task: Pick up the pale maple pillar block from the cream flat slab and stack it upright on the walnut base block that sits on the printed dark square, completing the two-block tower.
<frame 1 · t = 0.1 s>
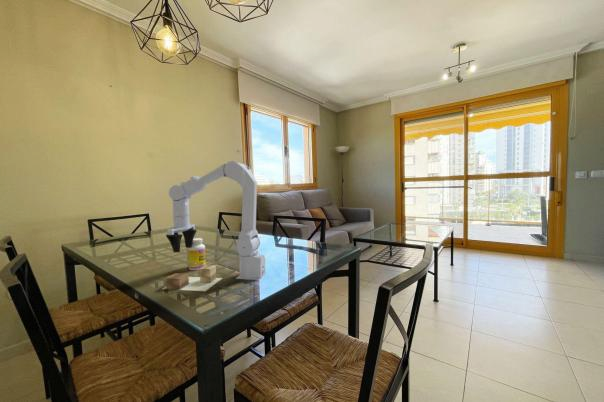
hand: (182, 249, 100), 10 cm above the table, fingers open, 7 cm apart
cream flat slab: (193, 284, 89), on the table
supplement bottle: (197, 269, 107), on the table
maple pillar: (208, 280, 91), point 1 cm above the table, touching cream flat slab
walnut base: (177, 285, 87), point 1 cm above the table, touching cream flat slab
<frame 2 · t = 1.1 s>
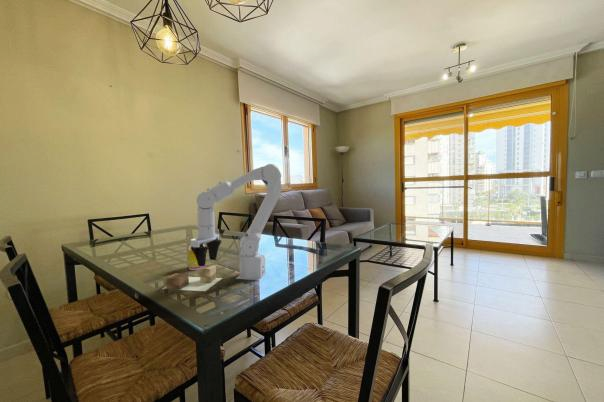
hand: (207, 262, 91), 7 cm above the table, fingers open, 7 cm apart
nothing on the table moved.
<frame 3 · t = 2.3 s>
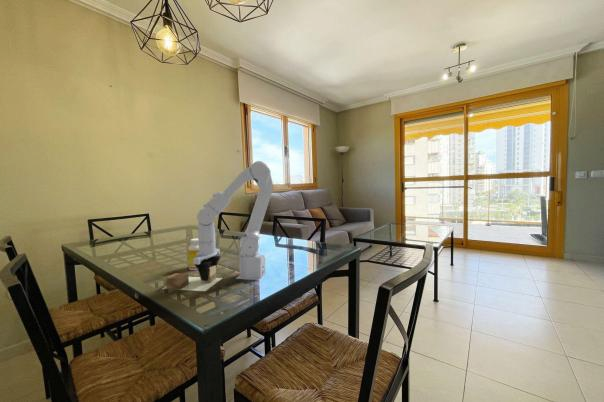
hand: (208, 278, 91), 2 cm above the table, fingers closed on maple pillar, 4 cm apart
maple pillar: (208, 280, 91), point 1 cm above the table, touching cream flat slab, gripper
everything else where it was.
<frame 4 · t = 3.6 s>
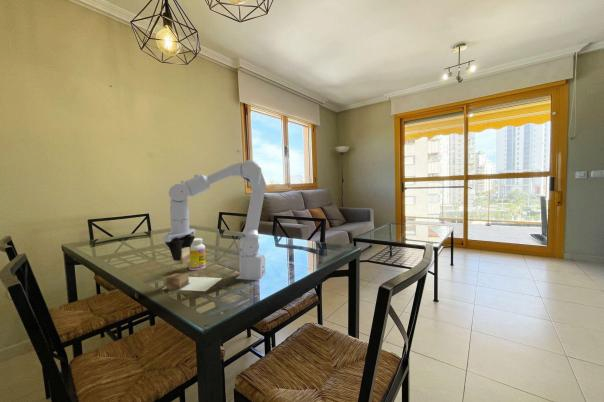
hand: (181, 258, 87), 10 cm above the table, fingers closed on maple pillar, 4 cm apart
maple pillar: (181, 262, 87), point 9 cm above the table, touching gripper
everything else where it was.
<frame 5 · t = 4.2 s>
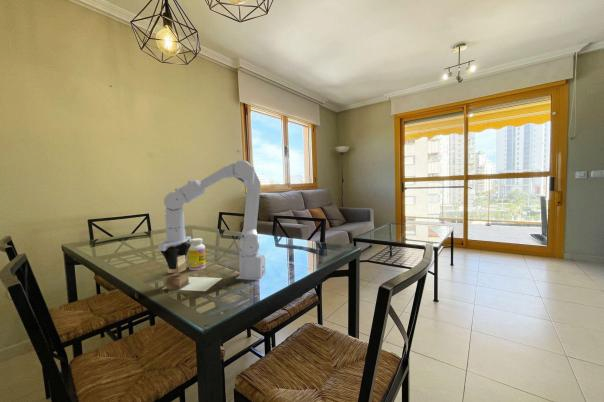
hand: (176, 266, 86), 7 cm above the table, fingers closed on maple pillar, 4 cm apart
maple pillar: (177, 270, 86), point 6 cm above the table, touching gripper
everything else where it was.
when the fingers open (6 cm above the table, at t = 4.8 s): maple pillar stays where it is, resting on walnut base.
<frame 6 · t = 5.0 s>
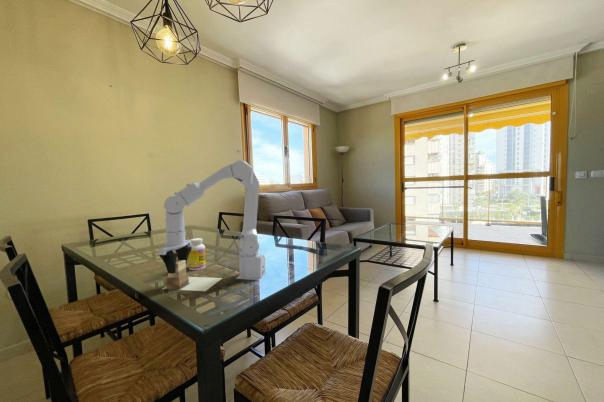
hand: (177, 270, 86), 6 cm above the table, fingers open, 5 cm apart
maple pillar: (177, 275, 86), point 4 cm above the table, touching walnut base
walnut base: (177, 285, 87), point 1 cm above the table, touching cream flat slab, maple pillar
everything else where it was.
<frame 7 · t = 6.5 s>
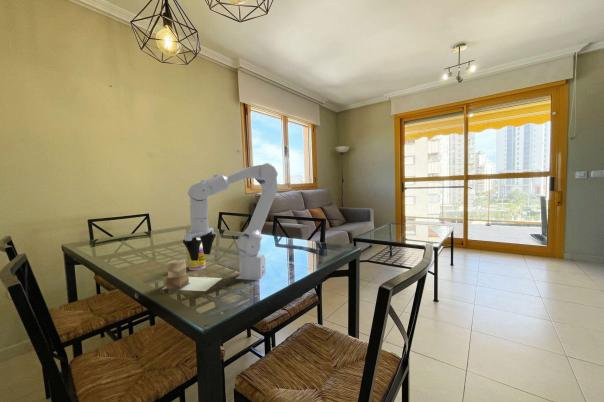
hand: (201, 257, 87), 10 cm above the table, fingers open, 7 cm apart
nothing on the table moved.
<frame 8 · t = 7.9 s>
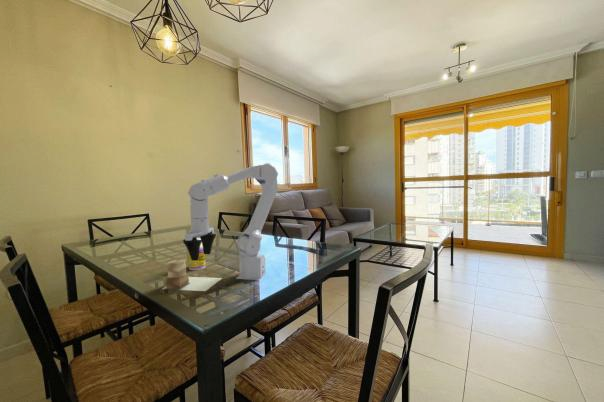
hand: (201, 257, 87), 10 cm above the table, fingers open, 7 cm apart
nothing on the table moved.
at the end: maple pillar 0.0 cm off-centre on the walnut base, point 3.5 cm above the walnut base's base; maple pillar tilted 0°; the gripper is holding nothing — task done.
